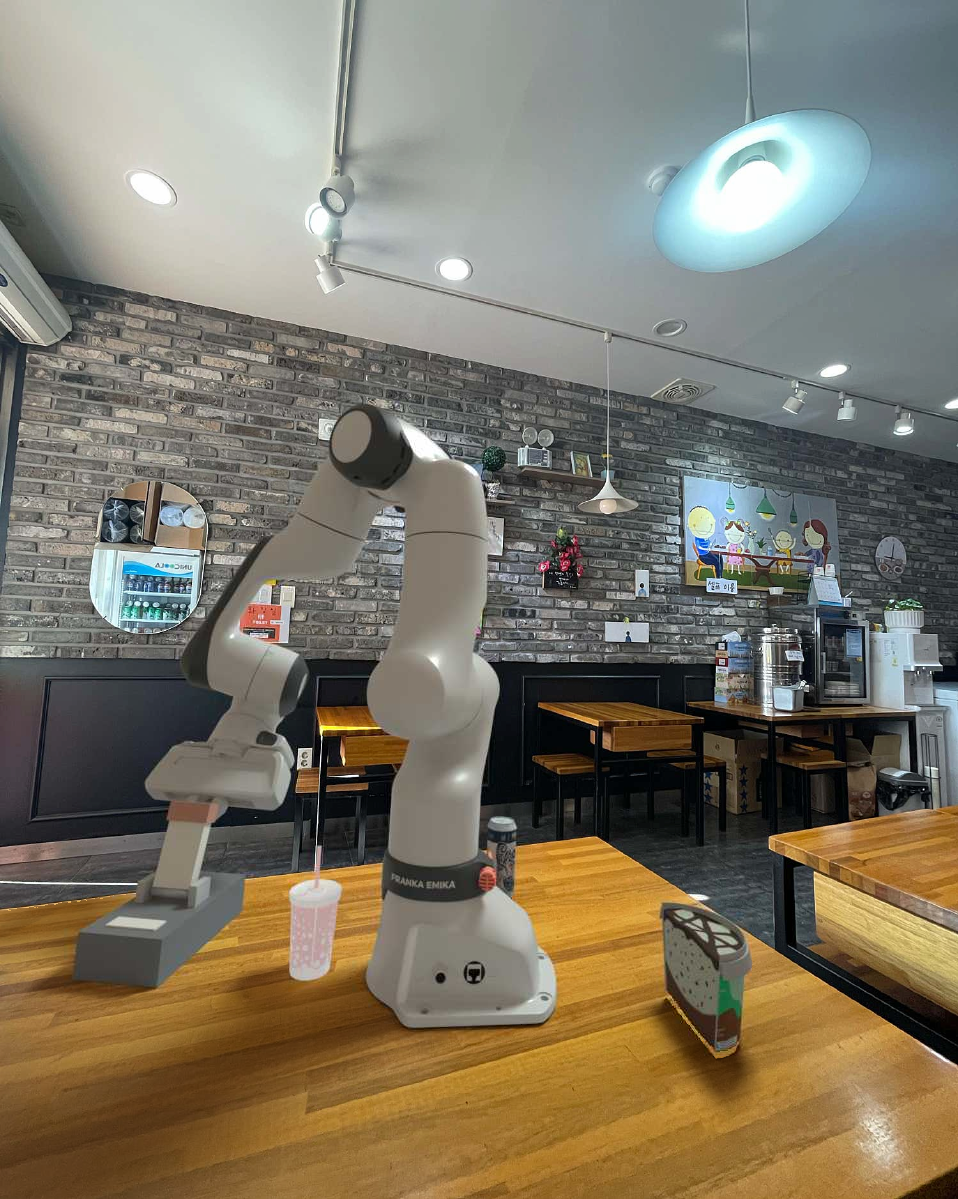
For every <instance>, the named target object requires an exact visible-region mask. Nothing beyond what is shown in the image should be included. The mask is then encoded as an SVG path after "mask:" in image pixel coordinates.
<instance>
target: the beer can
mask: <svg viewBox="0 0 958 1199" xmlns="http://www.w3.org/2000/svg"><path fill="white" fill-rule="evenodd" d="M486 840H487V841H486V842H487V843H486V844H487V847H486V854H487V855H489V851H490V852H491V854H492V860H493V861H494V870H495V872H496V875H497V877H496V886H497V887H498V888H499V889H500V890H502V891H503V892H504V893H505V894H506V895H507V896H508V897H509V898H510V897H512V896H513V895H514V896H515V879H516V878H515V876H516V848H517V825H516V823H515V820H514V819H513V818H511V817H507V816H493V817H490V820H489V822H488V823H487V839H486Z"/></svg>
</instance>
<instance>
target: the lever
mask: <svg viewBox="0 0 958 1199" xmlns="http://www.w3.org/2000/svg"><path fill="white" fill-rule="evenodd" d="M218 806H219V804H214V803H200V802H185V801H170V804H169V807H168V811H167V812H168V813H167V816H166V819H165V820H166V821H168V826H167V830H166V832H165V837H164V841H163V844H162V848H161V852H160V856H159V859H158V860H159V861H158V864H157V868H156V872H155V873H156V875H155V879H154V882H153V886H152V889H151V896H157V897H169V898H181V899H188V896H189V887H190V885H192V884H193V883H195V882H196V881H198V878H199V874H200V871H202V870H201V869H202V865H203V864H202V863H203V860H204V856H205V853H206V847H207V844H208V840H209V834H210V831H211V826H212V824H213V823H214V824H215V822H216V820H215V819H216V815H217V810H218Z"/></svg>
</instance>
